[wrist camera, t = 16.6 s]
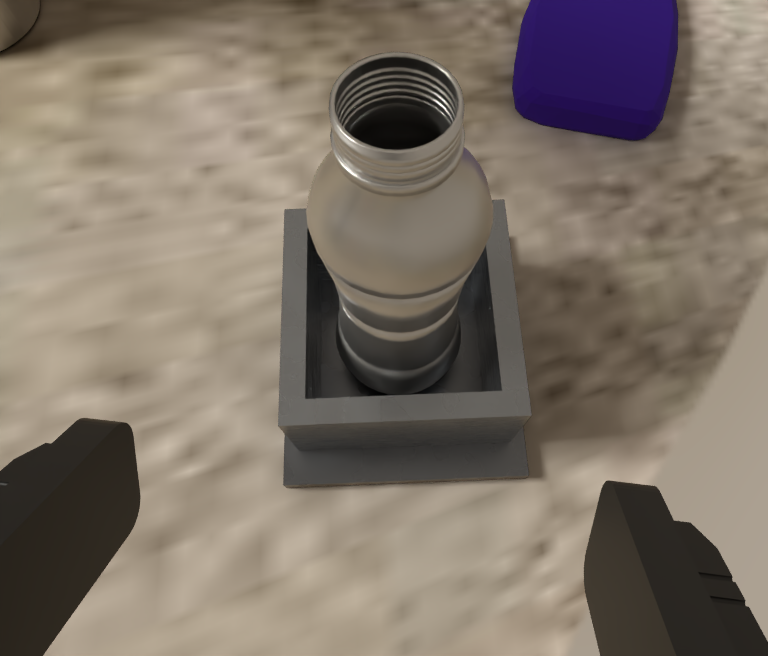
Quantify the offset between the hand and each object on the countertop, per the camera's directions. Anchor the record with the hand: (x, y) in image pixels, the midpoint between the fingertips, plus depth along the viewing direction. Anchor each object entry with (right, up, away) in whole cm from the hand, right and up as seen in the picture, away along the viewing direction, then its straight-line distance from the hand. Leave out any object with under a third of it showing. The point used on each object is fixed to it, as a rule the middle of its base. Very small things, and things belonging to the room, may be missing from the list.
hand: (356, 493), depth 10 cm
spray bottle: (+17, +27, +36) cm, 48 cm away
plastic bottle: (+1, +1, +25) cm, 25 cm away
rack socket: (+1, +1, +26) cm, 26 cm away
